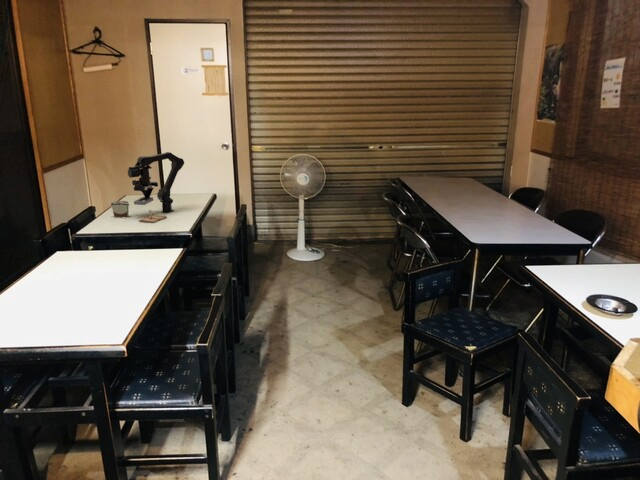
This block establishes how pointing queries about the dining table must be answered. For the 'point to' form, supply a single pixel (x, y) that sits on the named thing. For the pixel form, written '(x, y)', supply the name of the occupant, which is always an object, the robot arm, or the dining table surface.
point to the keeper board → (152, 218)
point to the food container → (120, 209)
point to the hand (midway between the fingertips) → (147, 198)
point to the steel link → (143, 201)
